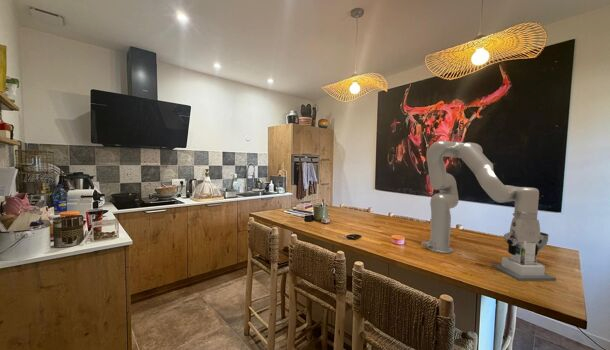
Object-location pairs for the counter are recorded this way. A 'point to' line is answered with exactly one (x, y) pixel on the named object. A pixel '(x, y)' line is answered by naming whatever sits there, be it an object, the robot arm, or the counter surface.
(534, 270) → the dock
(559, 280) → the counter surface
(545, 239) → the wine glass
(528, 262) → the syrup box
